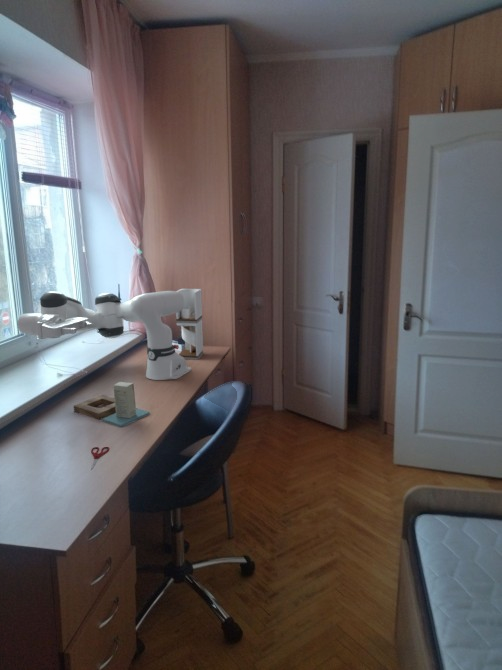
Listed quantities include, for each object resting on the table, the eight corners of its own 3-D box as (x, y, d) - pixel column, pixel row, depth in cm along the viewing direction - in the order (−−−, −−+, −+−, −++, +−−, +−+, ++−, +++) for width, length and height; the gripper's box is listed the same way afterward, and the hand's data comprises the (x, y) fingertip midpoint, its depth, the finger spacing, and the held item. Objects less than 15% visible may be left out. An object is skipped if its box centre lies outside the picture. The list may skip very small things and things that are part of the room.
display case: (183, 353, 263) (181, 288, 255) (203, 353, 261) (201, 289, 253) (177, 359, 252) (175, 291, 244) (197, 359, 250) (196, 292, 242)
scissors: (110, 449, 156) (109, 446, 155) (100, 471, 142) (100, 468, 142) (92, 449, 155) (92, 446, 155) (81, 471, 142) (81, 468, 141)
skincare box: (136, 414, 179) (134, 383, 176) (129, 418, 175) (127, 386, 172) (122, 412, 182) (120, 380, 179) (115, 416, 178) (112, 384, 175)
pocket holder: (103, 400, 195) (102, 394, 195) (128, 407, 188) (127, 401, 187) (74, 411, 184) (73, 405, 183) (99, 420, 176) (98, 413, 176)
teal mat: (130, 408, 187) (130, 406, 187) (149, 413, 182) (149, 411, 182) (102, 420, 176) (101, 418, 176) (121, 427, 170) (121, 425, 170)
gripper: (73, 328, 198) (101, 330, 193) (35, 339, 179) (65, 343, 174) (71, 312, 196) (100, 314, 192) (33, 323, 178) (64, 325, 173)
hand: (83, 328), depth 183 cm, fingers open, 8 cm apart
